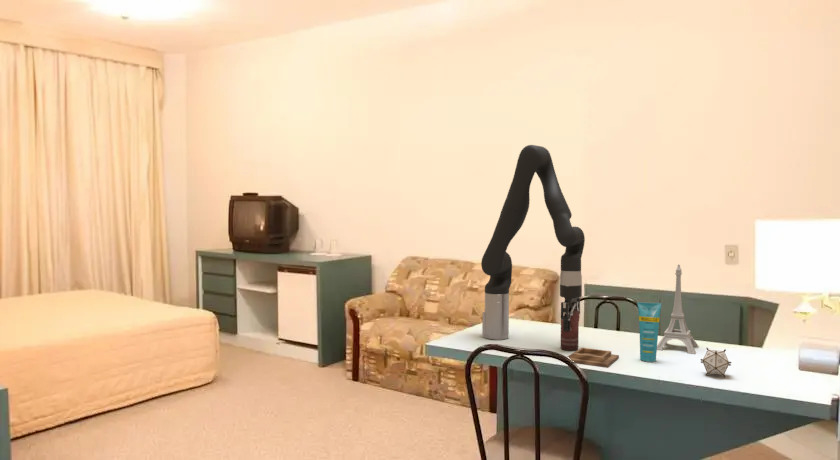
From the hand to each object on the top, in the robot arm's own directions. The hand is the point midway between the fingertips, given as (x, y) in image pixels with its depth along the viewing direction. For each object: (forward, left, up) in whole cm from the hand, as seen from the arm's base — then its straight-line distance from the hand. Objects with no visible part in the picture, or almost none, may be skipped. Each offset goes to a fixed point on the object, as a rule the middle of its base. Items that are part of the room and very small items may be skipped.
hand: (570, 329), depth 223 cm
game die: (+48, -10, -7) cm, 49 cm away
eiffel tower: (+32, +22, -8) cm, 39 cm away
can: (0, 0, -7) cm, 7 cm away
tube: (+27, -2, -7) cm, 28 cm away
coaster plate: (+11, -11, -7) cm, 17 cm away
